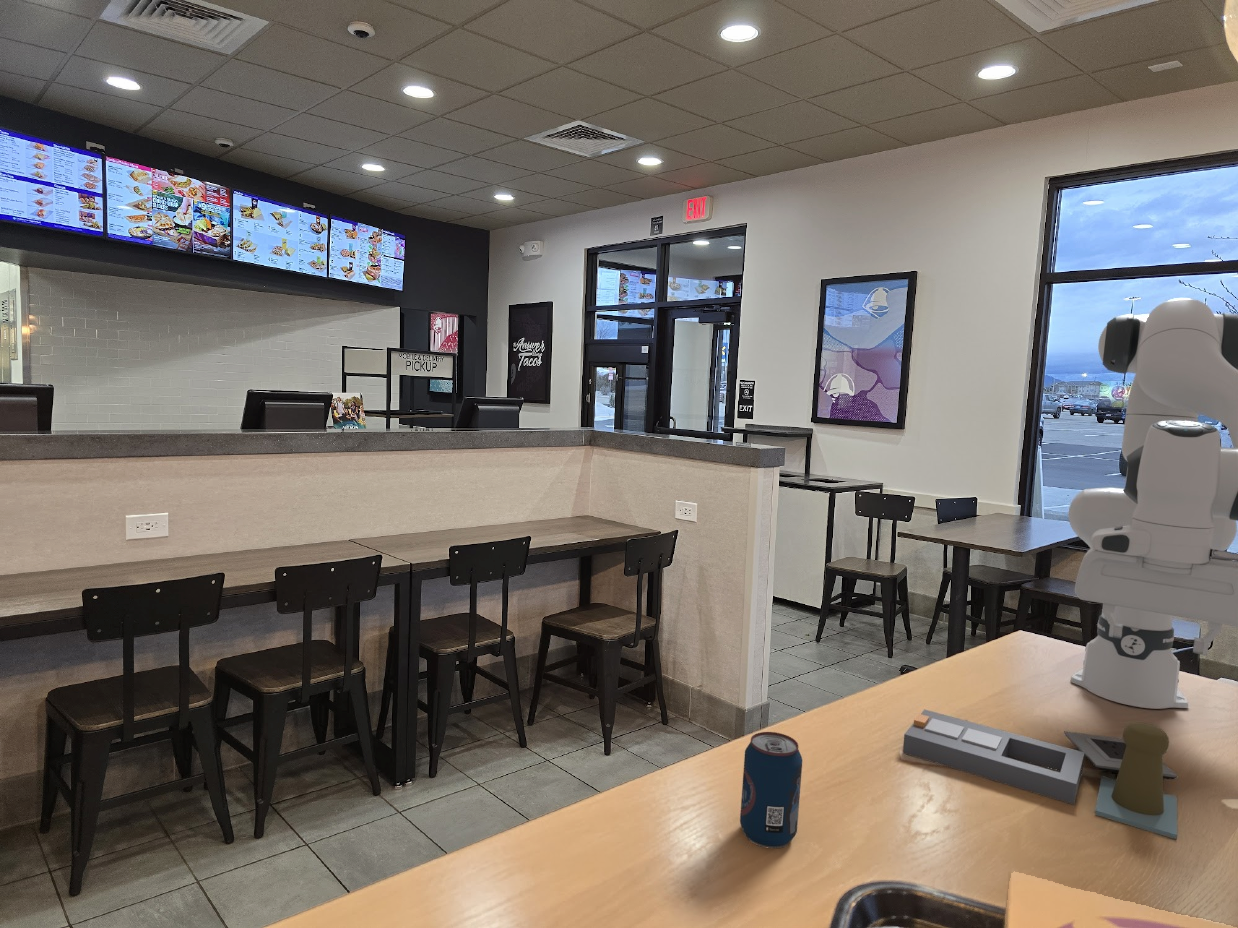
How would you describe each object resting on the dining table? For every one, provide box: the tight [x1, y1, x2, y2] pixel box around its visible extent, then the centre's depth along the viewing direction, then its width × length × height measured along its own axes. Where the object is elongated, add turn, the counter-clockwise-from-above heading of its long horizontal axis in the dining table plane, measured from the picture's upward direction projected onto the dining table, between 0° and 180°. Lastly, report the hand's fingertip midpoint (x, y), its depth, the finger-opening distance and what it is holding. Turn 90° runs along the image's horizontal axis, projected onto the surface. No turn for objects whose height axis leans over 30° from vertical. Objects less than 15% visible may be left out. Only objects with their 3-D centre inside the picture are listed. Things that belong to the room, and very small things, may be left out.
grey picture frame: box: [1063, 730, 1178, 780], centre depth 119 cm, size 13×10×2 cm
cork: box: [1111, 721, 1170, 815], centre depth 107 cm, size 6×6×11 cm
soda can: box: [739, 731, 803, 849], centre depth 96 cm, size 7×7×12 cm
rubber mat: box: [1094, 775, 1178, 840], centre depth 108 cm, size 12×9×1 cm
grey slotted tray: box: [902, 709, 1085, 806], centre depth 119 cm, size 12×23×4 cm, turn 55°
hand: (1156, 644), depth 105 cm, fingers open, 8 cm apart
